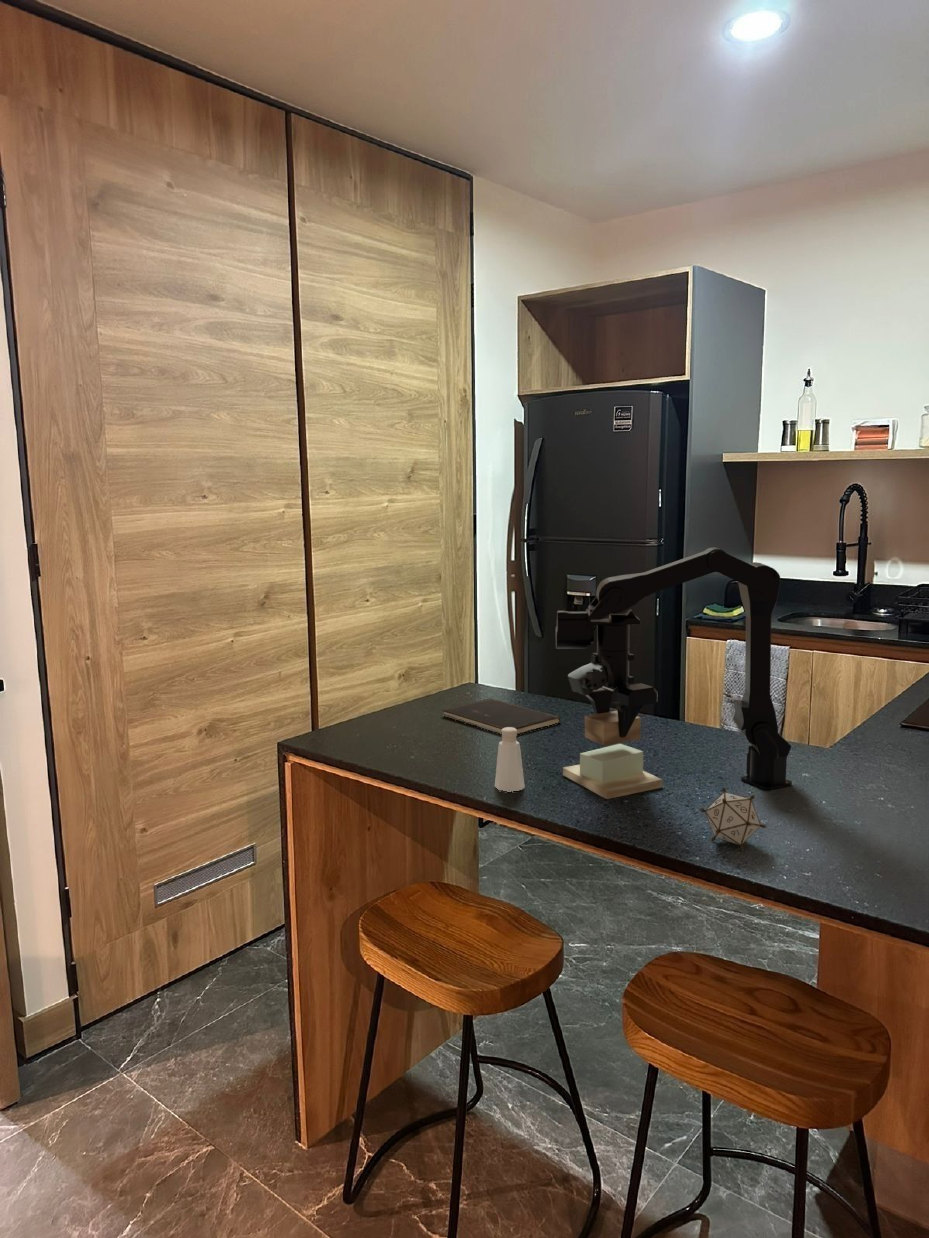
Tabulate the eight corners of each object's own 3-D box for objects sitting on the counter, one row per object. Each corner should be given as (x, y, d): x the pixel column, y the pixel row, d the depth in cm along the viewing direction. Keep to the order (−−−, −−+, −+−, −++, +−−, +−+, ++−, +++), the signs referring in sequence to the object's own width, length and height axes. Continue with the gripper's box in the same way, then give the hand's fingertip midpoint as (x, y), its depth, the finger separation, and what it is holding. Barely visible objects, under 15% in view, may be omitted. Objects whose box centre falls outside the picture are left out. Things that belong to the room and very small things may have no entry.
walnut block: (640, 739, 158) (640, 717, 157) (603, 745, 154) (603, 723, 154) (620, 730, 163) (620, 710, 162) (584, 737, 160) (584, 715, 159)
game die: (743, 865, 133) (787, 819, 130) (717, 862, 127) (763, 814, 124) (705, 821, 139) (747, 776, 136) (678, 817, 133) (721, 770, 130)
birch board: (661, 787, 156) (662, 779, 156) (606, 799, 151) (606, 790, 151) (615, 765, 169) (615, 757, 168) (562, 775, 164) (563, 767, 163)
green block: (642, 772, 160) (643, 751, 159) (602, 783, 154) (602, 761, 154) (619, 763, 165) (620, 743, 164) (579, 774, 159) (580, 753, 159)
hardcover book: (509, 740, 188) (509, 729, 187) (441, 718, 205) (441, 709, 205) (560, 725, 198) (560, 716, 198) (492, 706, 215) (492, 697, 215)
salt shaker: (488, 787, 158) (487, 728, 156) (510, 780, 161) (509, 722, 159) (508, 795, 154) (508, 735, 152) (530, 788, 157) (530, 728, 155)
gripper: (547, 644, 161) (547, 726, 163) (606, 662, 144) (605, 753, 147) (597, 638, 166) (596, 718, 168) (660, 655, 149) (658, 743, 152)
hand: (612, 732), depth 158 cm, fingers closed on walnut block, 6 cm apart
